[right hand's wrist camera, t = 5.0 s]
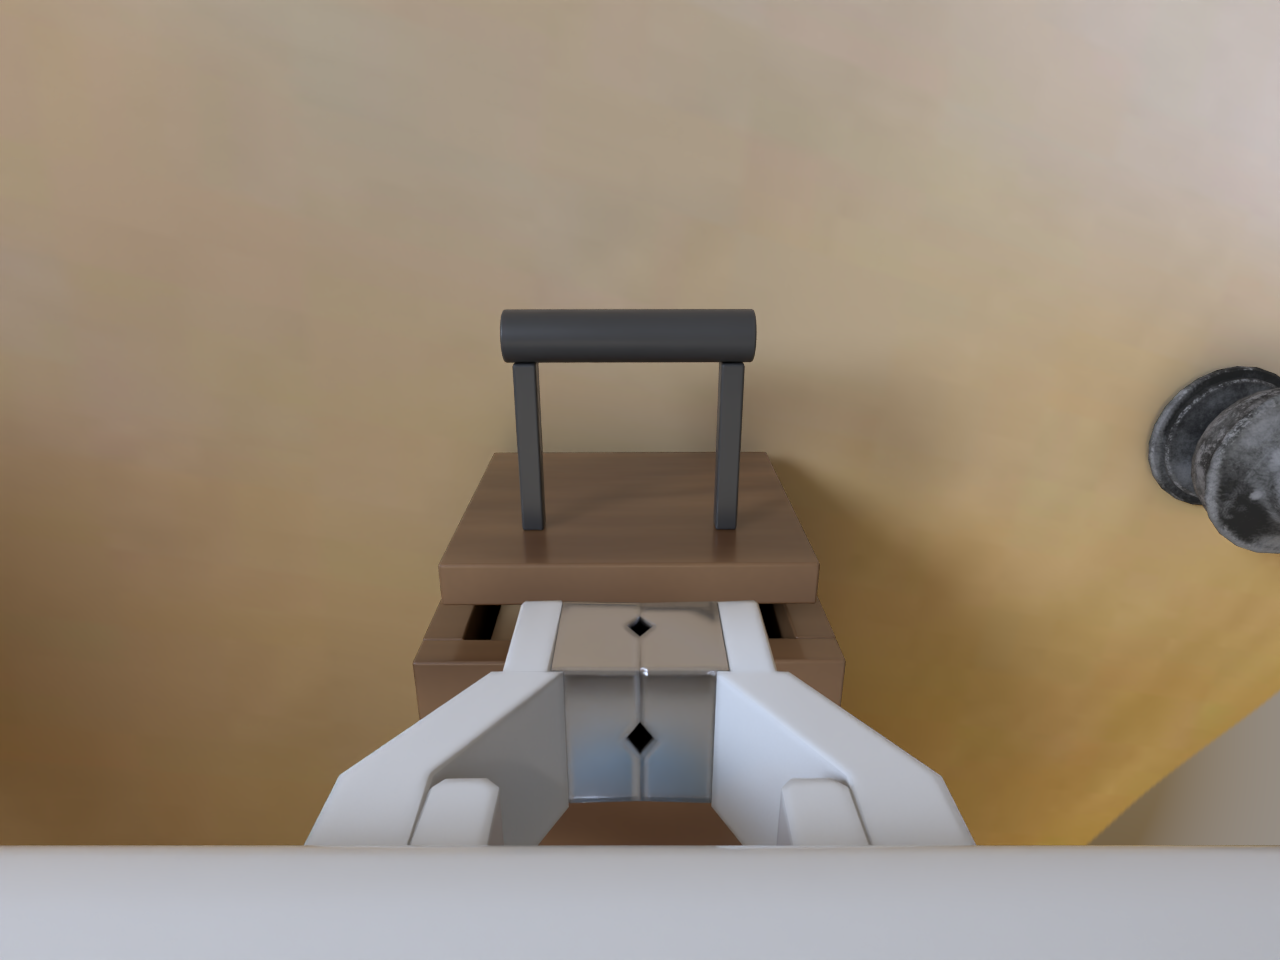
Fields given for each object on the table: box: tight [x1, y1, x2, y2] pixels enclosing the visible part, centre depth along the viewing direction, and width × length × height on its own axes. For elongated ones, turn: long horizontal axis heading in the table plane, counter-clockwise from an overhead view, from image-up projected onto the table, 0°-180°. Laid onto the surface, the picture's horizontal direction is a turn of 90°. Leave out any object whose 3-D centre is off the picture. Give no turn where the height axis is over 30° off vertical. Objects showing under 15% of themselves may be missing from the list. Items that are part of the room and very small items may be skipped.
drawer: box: [438, 309, 820, 640], centre depth 26 cm, size 25×10×9 cm, turn 0°
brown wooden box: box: [413, 596, 846, 846], centre depth 28 cm, size 21×11×11 cm, turn 0°
